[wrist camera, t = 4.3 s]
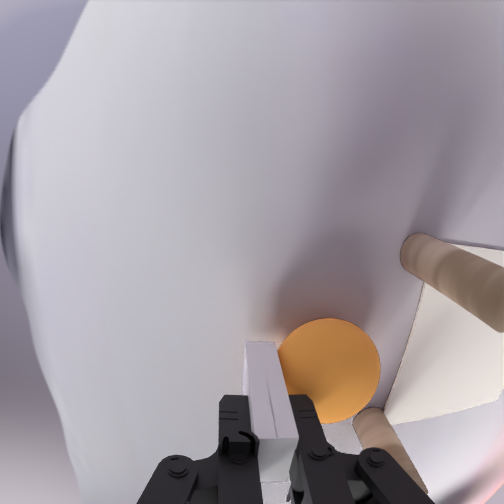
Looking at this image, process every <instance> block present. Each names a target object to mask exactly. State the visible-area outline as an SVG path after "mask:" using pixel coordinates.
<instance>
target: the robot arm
mask: <svg viewBox="0 0 504 504" xmlns="http://www.w3.org/2000/svg"><path fill="white" fill-rule="evenodd" d="M242 393H243V395H224V396H223V398H222V399H221V401H220V402H219V444H218V449H217V450H216V452H215V453H214V454H213V455H212V456H210V457H208V458H205V459H201V460H196V461H193V460H192V459H190V458H188V457H186V456H182V455H172V456H168V457H166V458H164V459H162V461H161V462H160V463H159V464H158V466H157V468H156V470H155V471H154V473H153V475H152V477H151V479H150V481H149V482H148V484H147V486H146V488H145V490H144V491H143V493H142V495H141V497H140V499H139V500H138V502H137V504H263V499H262V490H261V482H282V481H288V477H289V475H290V480H291V485H290V488H289V492H288V495H287V500H286V502H289V501H290V498H291V504H435V503H434V502H433V501H432V500H431V499H430V498H429V497H428V495H427V494H426V493H425V492H424V491H423V490H422V489H421V488H420V487H419V486H418V485H417V483H416V482H415V481H414V480H413V479H412V478H411V477H410V476H409V475H408V474H407V472H406V471H405V470H404V469H403V468H402V467H401V466H400V465H399V464H398V462H397V461H396V460H395V459H394V458H393V457H392V456H391V455H390V454H389V453H388V452H387V451H386V450H384V449H381V448H376V447H371V448H366V449H365V450H363V451H361V453H360V454H359V455H353V454H345V453H341V452H338V451H336V450H335V448H334V447H333V446H332V445H330V444H329V443H327V441H326V438H325V435H324V432H323V429H322V426H321V423H320V420H319V418H318V415H317V412H316V409H315V406H314V403H313V401H312V400H311V399H310V398H309V397H308V396H307V395H306V394H295V395H288V392H287V388H286V385H285V381H284V377H283V373H282V369H281V365H280V361H279V357H278V353H277V349H276V346H275V342H253V341H245V350H244V363H243V377H242Z"/></svg>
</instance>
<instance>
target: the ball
mask: <svg viewBox="0 0 504 504" xmlns="http://www.w3.org/2000/svg"><path fill="white" fill-rule="evenodd" d="M277 353H278V357H279V361H280V365H281V369H282V373H283V377H284V381H285V385H286V388H287V392H288V395H295V394H306V395H307V396H308V397H309V398H310V399H311V400H312V401H313V403H314V406H315V409H316V412H317V415H318V418H319V420H320V423H321V424H329V423H336V422H340V421H343V420H345V419H348V418H350V417H352V416H353V415H355V414H357V413H358V412H359V411H360V410H362V409H363V408H364V407H365V406H366V405H367V404H368V402H369V401H370V400H371V398H372V397H373V395H374V393H375V391H376V389H377V386H378V383H379V379H380V359H379V354H378V351H377V349H376V347H375V345H374V343H373V341H372V340H371V339H370V337H369V336H368V335H367V334H366V333H365V332H364V331H363V330H362V329H360V328H359V327H358V326H356V325H354V324H352V323H350V322H347V321H345V320H340V319H335V318H323V319H317V320H313V321H310V322H307V323H305V324H303V325H301V326H300V327H298V328H297V329H295V330H294V331H293V332H292V333H290V334H289V335H288V336H287V337H286V339H285V340H284V341H283V343H282V344H281V346H280V347H279V349H278V351H277Z"/></svg>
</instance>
